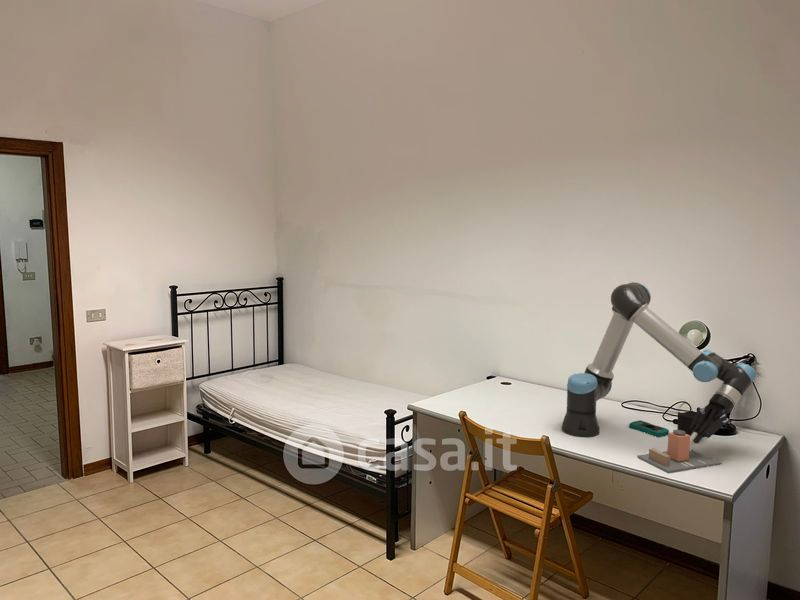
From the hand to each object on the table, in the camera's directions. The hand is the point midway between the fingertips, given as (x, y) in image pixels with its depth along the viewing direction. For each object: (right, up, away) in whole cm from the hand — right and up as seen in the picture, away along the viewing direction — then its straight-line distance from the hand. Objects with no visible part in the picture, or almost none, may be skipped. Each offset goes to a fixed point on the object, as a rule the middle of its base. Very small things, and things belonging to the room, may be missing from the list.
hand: (686, 448), depth 211 cm
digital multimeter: (0, -2, +32) cm, 32 cm away
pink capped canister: (-4, -3, -1) cm, 5 cm away
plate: (-3, -5, 0) cm, 5 cm away
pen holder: (+13, -2, +24) cm, 27 cm away
